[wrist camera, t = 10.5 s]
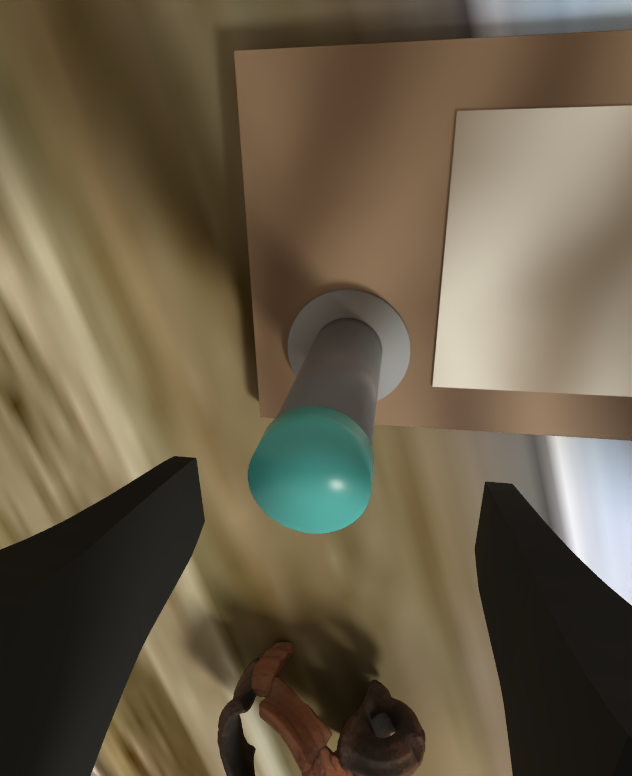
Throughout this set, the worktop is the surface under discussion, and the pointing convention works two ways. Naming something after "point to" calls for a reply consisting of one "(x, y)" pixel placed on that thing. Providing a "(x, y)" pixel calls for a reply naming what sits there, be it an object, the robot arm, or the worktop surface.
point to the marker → (323, 434)
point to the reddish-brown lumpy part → (320, 727)
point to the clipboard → (449, 224)
